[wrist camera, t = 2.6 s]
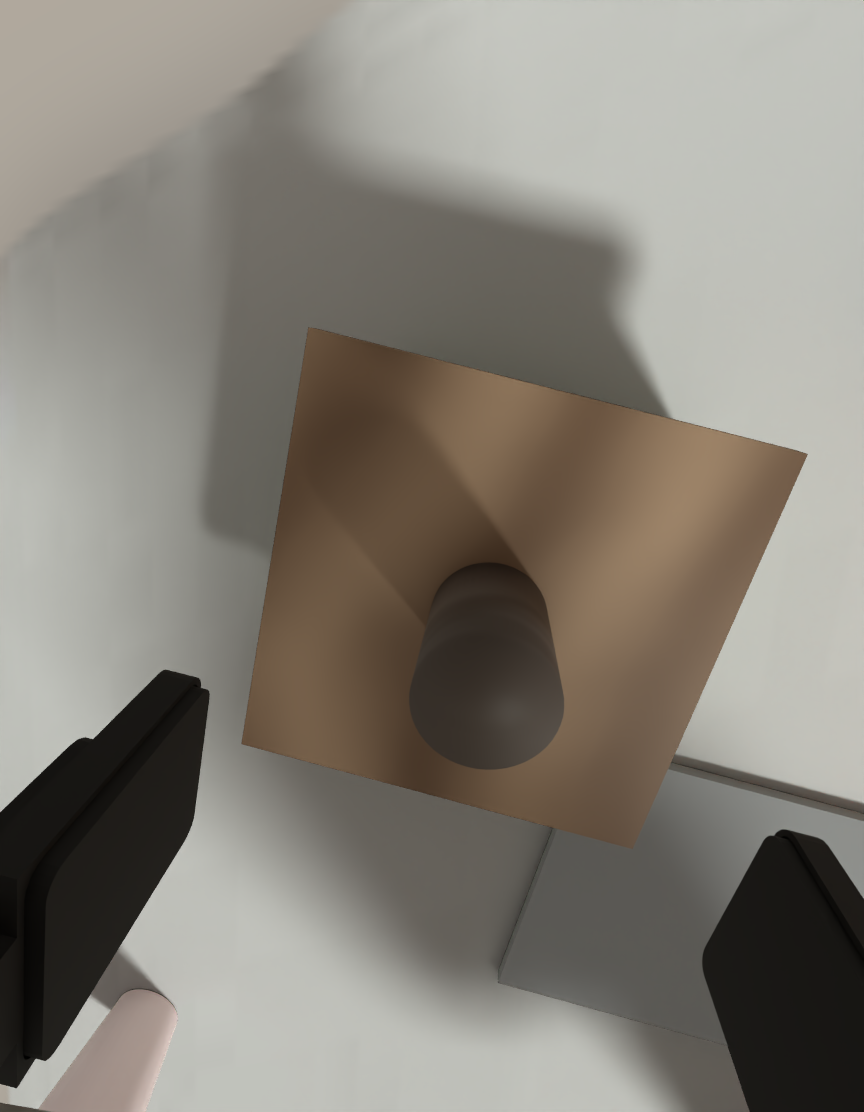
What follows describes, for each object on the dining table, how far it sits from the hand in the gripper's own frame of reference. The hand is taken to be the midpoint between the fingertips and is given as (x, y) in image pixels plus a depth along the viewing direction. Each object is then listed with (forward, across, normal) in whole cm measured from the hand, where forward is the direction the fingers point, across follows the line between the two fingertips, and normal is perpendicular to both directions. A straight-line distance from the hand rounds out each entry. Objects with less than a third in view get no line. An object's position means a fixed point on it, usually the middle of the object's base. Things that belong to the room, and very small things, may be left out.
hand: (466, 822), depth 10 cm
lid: (+10, 0, 0) cm, 10 cm away
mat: (+16, -15, +16) cm, 27 cm away
